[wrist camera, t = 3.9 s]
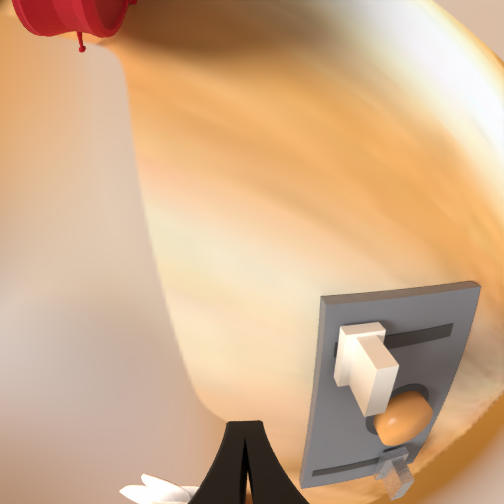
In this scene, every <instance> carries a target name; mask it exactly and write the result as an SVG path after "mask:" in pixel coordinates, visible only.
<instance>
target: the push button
mask: <svg viewBox="0 0 504 504" xmlns="http://www.w3.org/2000/svg"><path fill="white" fill-rule="evenodd" d="M432 415H433V410H432V408H431V407H430V405H429V404H428V403H427V401H426V400H425V398H424V397H423V396H422V394H421V393H420V392H418V391H407V392H403V393H401V394H399V395H396V396H395V397H393V398H391V399H390V400H389V401H388V404H387V408H386V410H385V413H380V414H376V415H375V417H374V420H373V424H374V427H375V429H376V431H377V433H378V435H379V437H380V439H381V441H382V443H383V444H384V445H387V446H395V445H399V444H402V443H405V442H407V441H409V440H411V439H412V438H414V437H415V436H417V435H418V434H419V433H421V432H422V431H423V430H424V429H425V428H426V426H427V425H428V424H429V422H430V421H431V418H432Z"/></svg>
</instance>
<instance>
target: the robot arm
mask: <svg viewBox="0 0 504 504" xmlns="http://www.w3.org/2000/svg"><path fill="white" fill-rule="evenodd" d="M247 473H248V475H249V482H250V488H251V494H252V500H253V504H309V503H308V502H307V500H306V499H305V498H304V497H303V496H302V495H301V493H300V492H299V491H298V490H297V488H296V487H295V486H294V485H293V483H292V482H291V480H290V479H289V477H288V476H287V474H286V473H285V471H284V470H283V468H282V466H281V465H280V463H279V461H278V459H277V457H276V456H275V454H274V452H273V450H272V448H271V445H270V443H269V441H268V438H267V436H266V433H265V429H264V426H263V422H262V421H260V420H257V421H229V422H228V423H227V425H226V429H225V433H224V437H223V440H222V443H221V445H220V448H219V451H218V453H217V455H216V457H215V460H214V462H213V464H212V466H211V468H210V470H209V472H208V473H207V475H206V477H205V479H204V480H203V482H202V484H201V485H200V487H199V488H198V490H197V491H196V493H195V494H194V496H193V497H192V499H191V500H190V501H189V502H188V504H245V502H246V488H247Z"/></svg>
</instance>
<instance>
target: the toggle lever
mask: <svg viewBox="0 0 504 504" xmlns="http://www.w3.org/2000/svg"><path fill="white" fill-rule="evenodd" d="M385 332H386V330H385V329H384V327H383V326H382V325H381V324H380V323H379V322H374V323H366V324H357V325H348V326H340V333H339V341H338V349H337V357H336V364H335V371H334V379H335V381H336V383H337V386H338V387H340V386H346V385H349V386H350V388H351V390H352V392H353V394H354V396H355V399H356V401H357V403H358V405H359V407H360V409H361V411H362V413H363V416H364V417H367V416H371V415H376V414H380V413H385V410H386V408H387V404H388V401H389V398H390V395H391V392H392V389H393V385H394V382H395V379H396V375H397V371H398V368H399V364H398V363H397V362H396V360H395V359H394V358H393V356H392V355H391V354H390V352H389V351H388V350H387V348H386V347H385V346H384V345H383V342H384V337H385Z"/></svg>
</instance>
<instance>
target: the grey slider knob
mask: <svg viewBox="0 0 504 504" xmlns="http://www.w3.org/2000/svg"><path fill="white" fill-rule="evenodd" d="M408 455H409V452H408V450H407V449H406V447H405V446H404V447H401V448H398V449H394V450H391V451H387V452H384V453H382V454H381V456H380V458H379V460H378V463H377V465H376V467H375V469H374V471H373V476H374V479H375V480H378V479H382V480H383V483H384V485H385V488H386V490H387V492H388V495H389V497H390V500H394V499H397V498H400V497H402V496H403V495H404V494H405V493H406V491H407V490H408V489H409V487H410V486H411V484H412V483H413V482H414V478H413V476H412V474H411V472H410V470H409V468H408V466H407V464H406V462H405V460H406V458H407V456H408Z"/></svg>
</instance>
